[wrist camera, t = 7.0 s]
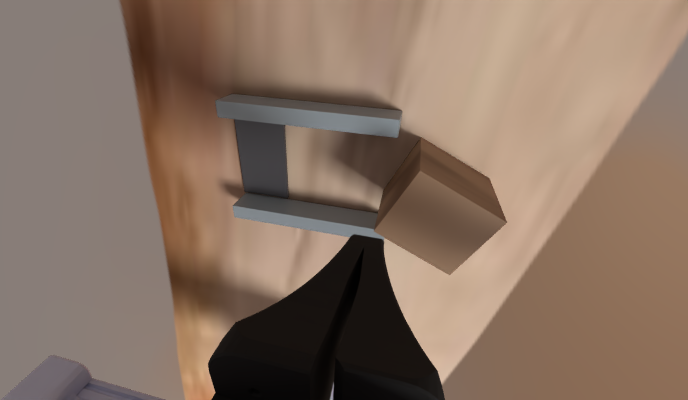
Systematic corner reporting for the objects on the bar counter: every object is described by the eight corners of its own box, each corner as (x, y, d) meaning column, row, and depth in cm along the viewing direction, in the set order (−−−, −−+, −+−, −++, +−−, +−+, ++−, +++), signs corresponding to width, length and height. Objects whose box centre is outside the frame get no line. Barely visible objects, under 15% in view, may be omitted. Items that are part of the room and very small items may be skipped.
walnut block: (444, 225, 22) (449, 275, 18) (383, 189, 21) (373, 231, 17) (489, 178, 19) (507, 222, 15) (421, 136, 19) (420, 170, 15)
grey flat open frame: (386, 226, 23) (383, 243, 21) (247, 203, 25) (234, 217, 23) (402, 110, 18) (400, 120, 17) (232, 93, 20) (215, 100, 19)
